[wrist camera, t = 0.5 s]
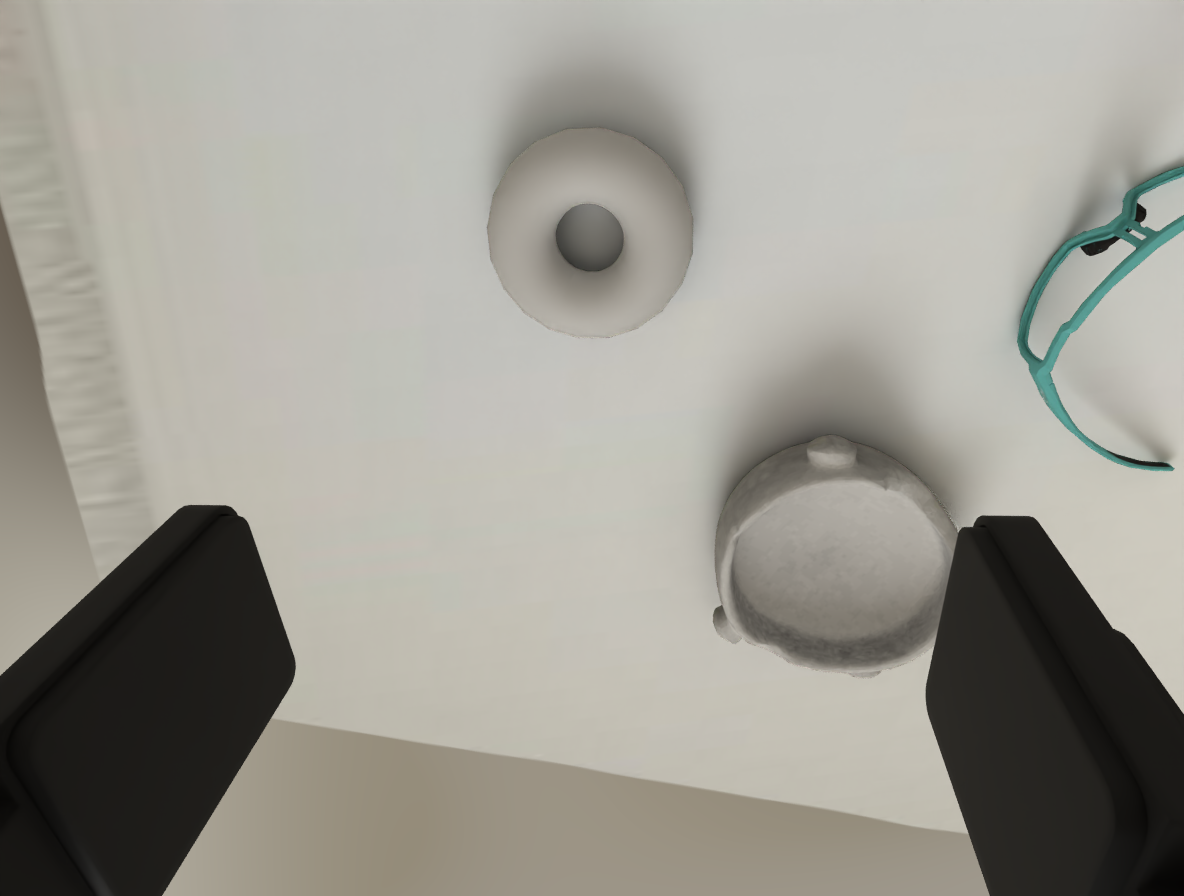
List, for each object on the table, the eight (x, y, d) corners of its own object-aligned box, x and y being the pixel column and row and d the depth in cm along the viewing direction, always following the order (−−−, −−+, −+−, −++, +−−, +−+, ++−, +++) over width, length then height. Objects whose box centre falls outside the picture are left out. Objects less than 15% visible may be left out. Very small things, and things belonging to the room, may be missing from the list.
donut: (710, 136, 35) (499, 109, 35) (713, 146, 32) (482, 117, 32) (676, 336, 40) (491, 312, 40) (676, 361, 37) (476, 334, 37)
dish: (790, 389, 40) (801, 432, 36) (1005, 497, 42) (1040, 550, 38) (664, 573, 47) (661, 628, 43) (852, 660, 49) (867, 721, 45)
